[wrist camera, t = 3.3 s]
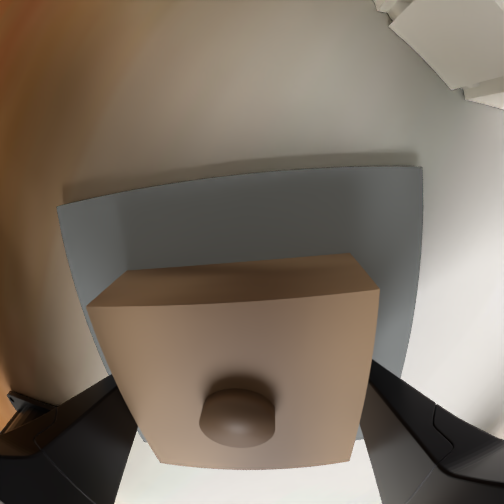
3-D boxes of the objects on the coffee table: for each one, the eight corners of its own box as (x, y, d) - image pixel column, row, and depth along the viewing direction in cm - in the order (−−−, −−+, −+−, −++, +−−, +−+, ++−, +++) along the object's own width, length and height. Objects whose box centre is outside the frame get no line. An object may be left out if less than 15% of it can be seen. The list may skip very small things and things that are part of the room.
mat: (146, 436, 12) (144, 442, 12) (62, 204, 9) (56, 206, 8) (381, 428, 11) (382, 434, 11) (416, 166, 8) (422, 166, 7)
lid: (175, 417, 11) (156, 474, 8) (127, 270, 9) (73, 317, 6) (338, 412, 10) (351, 473, 7) (349, 253, 8) (389, 301, 5)
